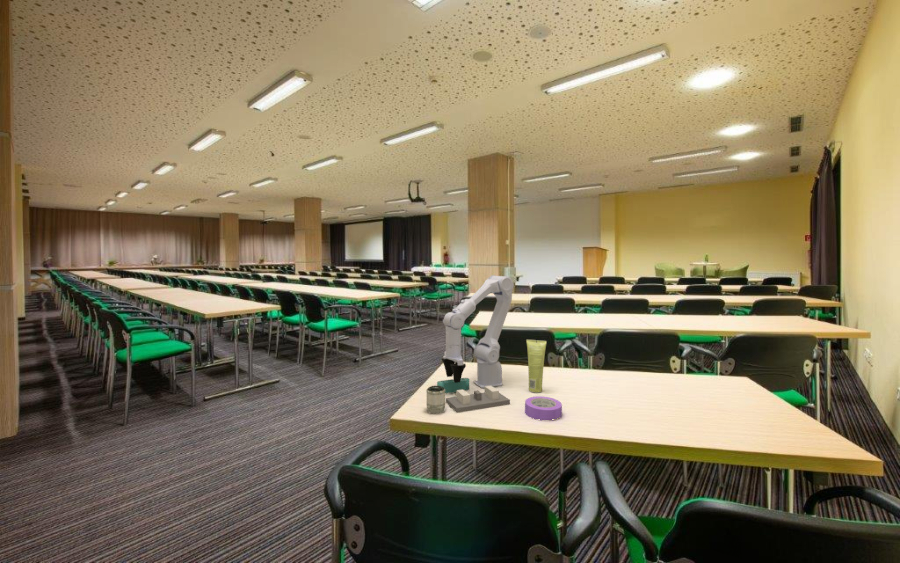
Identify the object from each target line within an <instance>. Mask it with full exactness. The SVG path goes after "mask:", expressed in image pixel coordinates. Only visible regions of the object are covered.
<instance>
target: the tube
mask: <svg viewBox="0 0 900 563" xmlns="http://www.w3.org/2000/svg"><path fill="white" fill-rule="evenodd" d="M525 341H526V347H527V360H528V361H527V362H528V363H527V364H528V366H527V367H528V390H529V392H531V393H542V390H543V378H544V365H545V364H544V363H545V354H546V347H547V340H536V339H526V340H525Z"/></svg>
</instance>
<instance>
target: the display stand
mask: <svg viewBox="0 0 900 563" xmlns="http://www.w3.org/2000/svg"><path fill="white" fill-rule="evenodd" d="M455 393H456V396H451V397H445V404H447V405H448V406H449V407H450V408H451V409H452V410H453V411H455V413H456V414H457V413H463V412H470V411H475V410H481V409H487V408H488V409H489V408H494V407H500V406H501V407H502V406H508V405H511V399H509V398H508V397H506V396H505V395H504V394H502V393H500V391H499V389H497V388H495V386H493V387H492V386H485V388H484V392H481V391H479V390H473V393H471V394H470V393H468V392H467V390H466V391H464V390H456V392H455Z"/></svg>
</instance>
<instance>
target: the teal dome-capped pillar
mask: <svg viewBox="0 0 900 563" xmlns="http://www.w3.org/2000/svg"><path fill="white" fill-rule="evenodd" d="M436 386H441V387H443V388H444V389H445V394H451V393H456V390H464V391H465V390H466V391H469V390H470V378H468V377H461V380H460V382H458V383H455V382H454V378H453V379H446V380H439V381H437V382H436Z"/></svg>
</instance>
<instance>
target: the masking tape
mask: <svg viewBox="0 0 900 563" xmlns="http://www.w3.org/2000/svg"><path fill="white" fill-rule="evenodd" d="M562 411H563V404H562V402H561V401H559V400H558V399H555V398H553V397H550V396H549V397H548V396H540V395H539V396H536V395H535V396H531V397H528V398H526V399H525V400H524V414H525V413H526V414H525V416H527V417H529V418H530V417H531V419H533V418H534V420H536V419H540V420H539V421H542V420H552V419H557V418H559V417H561V418H562V416H561V415H562V414H563V413H562ZM559 419H560V418H559ZM557 420H558V419H557ZM552 421H553V420H552Z"/></svg>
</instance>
